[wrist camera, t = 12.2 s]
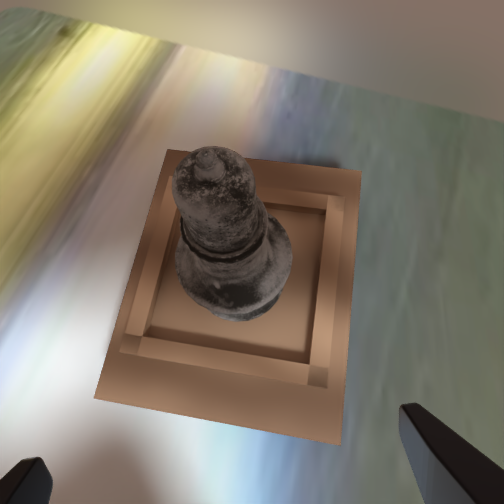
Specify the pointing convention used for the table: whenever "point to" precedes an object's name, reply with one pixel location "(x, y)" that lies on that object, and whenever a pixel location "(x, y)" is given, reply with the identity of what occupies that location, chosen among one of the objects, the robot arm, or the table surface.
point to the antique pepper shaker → (227, 237)
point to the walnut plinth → (245, 332)
